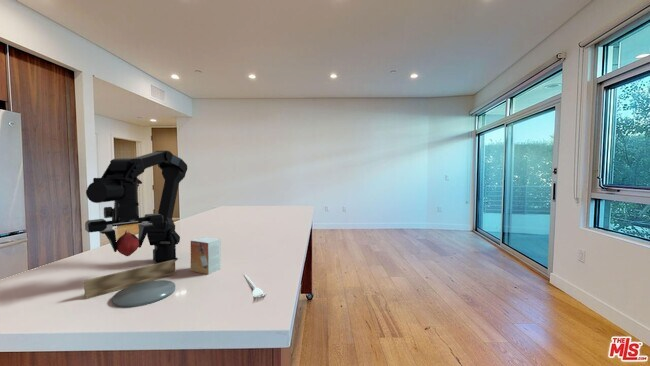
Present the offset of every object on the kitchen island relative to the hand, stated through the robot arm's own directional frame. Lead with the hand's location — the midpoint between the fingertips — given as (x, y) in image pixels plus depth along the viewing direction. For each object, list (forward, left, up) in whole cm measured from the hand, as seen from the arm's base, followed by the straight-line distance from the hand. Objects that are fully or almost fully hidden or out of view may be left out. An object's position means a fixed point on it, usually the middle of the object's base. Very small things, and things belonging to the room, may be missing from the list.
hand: (127, 249), depth 82 cm
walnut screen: (0, +6, -9) cm, 11 cm away
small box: (-19, +11, -10) cm, 24 cm away
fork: (-22, +34, -10) cm, 42 cm away
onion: (0, 0, -2) cm, 2 cm away
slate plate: (0, +16, -9) cm, 19 cm away
